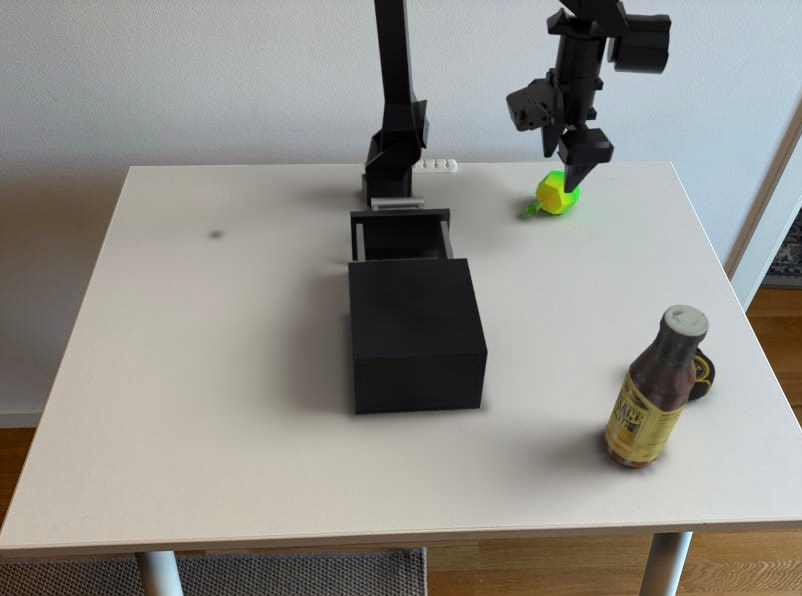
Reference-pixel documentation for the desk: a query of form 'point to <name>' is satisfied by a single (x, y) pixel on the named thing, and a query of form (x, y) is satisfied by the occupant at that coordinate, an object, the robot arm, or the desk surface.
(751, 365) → the desk surface
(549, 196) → the apple
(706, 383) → the tape measure
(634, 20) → the robot arm
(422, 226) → the tray
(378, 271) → the box
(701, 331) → the sauce bottle
